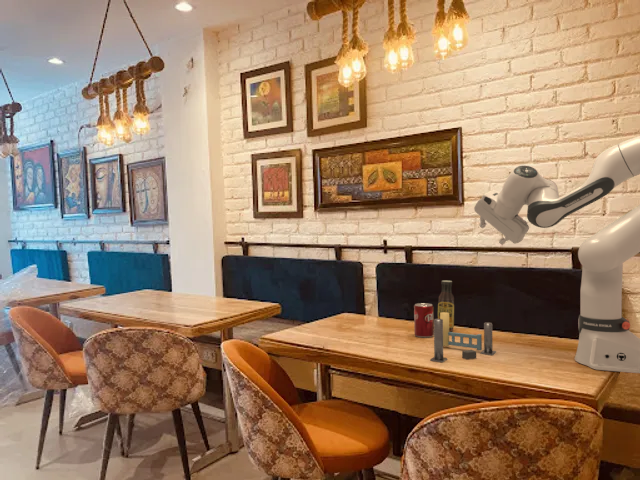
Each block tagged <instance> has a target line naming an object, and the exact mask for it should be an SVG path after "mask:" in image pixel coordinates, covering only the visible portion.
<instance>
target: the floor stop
mask: <svg viewBox="0 0 640 480" xmlns="http://www.w3.org/2000/svg"><path fill="white" fill-rule="evenodd" d="M461 352H462V353H461V354H462V355H461V357H462V359H465V360H468V361H469V360H473V359H477V350H475V349H474V350H473V349H467V350H462V351H461Z"/></svg>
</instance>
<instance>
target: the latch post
mask: <svg viewBox="0 0 640 480" xmlns="http://www.w3.org/2000/svg"><path fill="white" fill-rule="evenodd" d="M433 345H434V346H433V348H434V349H433V351H434V352H433V354H434V355H433V357H432V358H430V362H436V363H444V362H445V361H447V360H448V357H444V346H443V319H438V318H434V335H433Z"/></svg>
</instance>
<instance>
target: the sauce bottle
mask: <svg viewBox="0 0 640 480" xmlns="http://www.w3.org/2000/svg"><path fill="white" fill-rule="evenodd" d="M452 285H453V281H452V280H441V292H440V293H439V296H438V302H437V303H438V304H437V319H440V313H442V312H447V313H449V332H453V331H454V327H455V326H454V325H455V297H454V294H453V293H452Z"/></svg>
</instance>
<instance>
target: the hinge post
mask: <svg viewBox="0 0 640 480" xmlns="http://www.w3.org/2000/svg"><path fill="white" fill-rule="evenodd" d="M483 330H484V331H483V346H484V347H483V350H481V351H480V354H481V355H485V356H494V355H495V354H496V353H497V351H496V350H493V323H492V322H489V321H488V322H484V323H483Z"/></svg>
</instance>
